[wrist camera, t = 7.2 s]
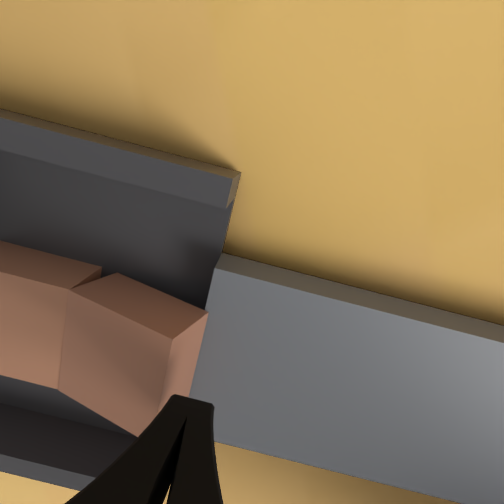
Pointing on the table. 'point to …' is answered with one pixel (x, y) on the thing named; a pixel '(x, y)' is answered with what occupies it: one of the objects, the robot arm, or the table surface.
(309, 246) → the table surface
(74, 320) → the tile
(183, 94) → the table surface
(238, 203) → the table surface
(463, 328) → the slate plate
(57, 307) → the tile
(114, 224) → the box
